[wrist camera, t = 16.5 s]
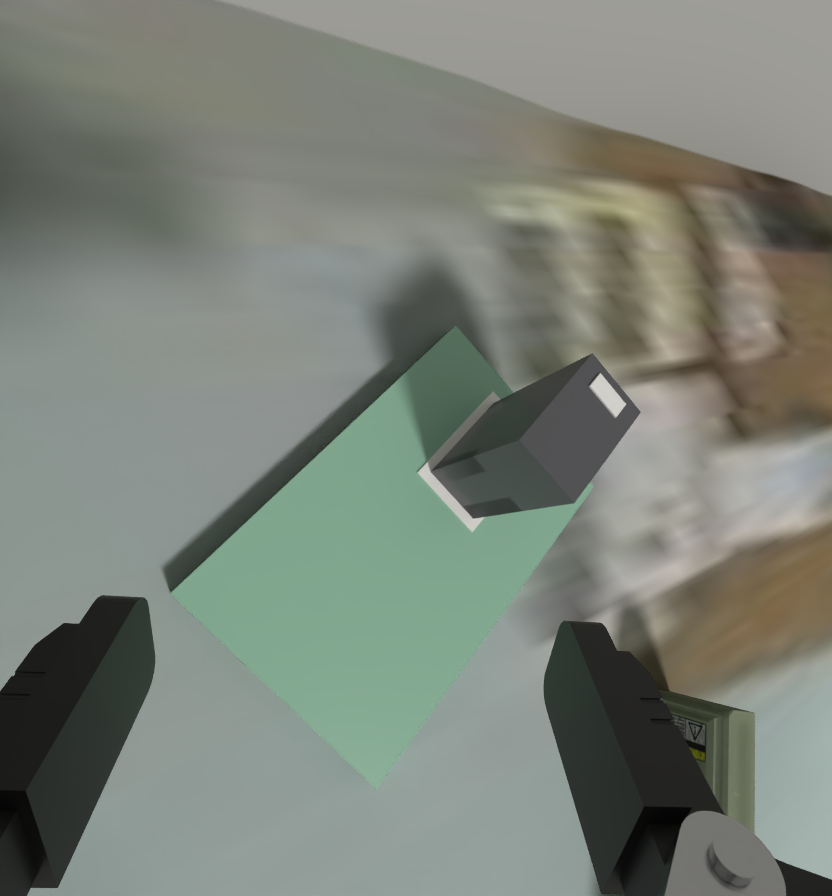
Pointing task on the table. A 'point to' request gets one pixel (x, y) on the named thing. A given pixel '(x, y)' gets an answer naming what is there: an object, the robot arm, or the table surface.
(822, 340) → the table surface
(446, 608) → the pale green flat block
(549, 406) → the block
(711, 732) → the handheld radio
